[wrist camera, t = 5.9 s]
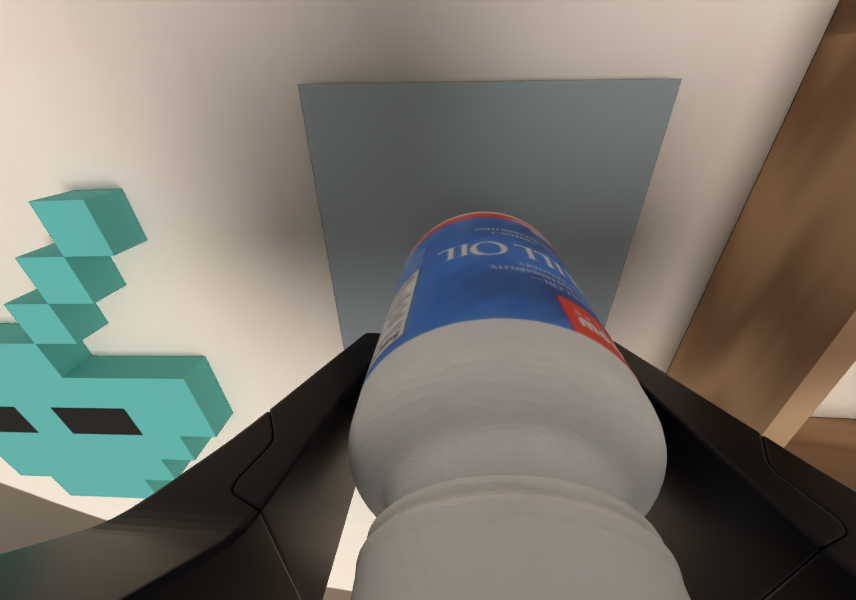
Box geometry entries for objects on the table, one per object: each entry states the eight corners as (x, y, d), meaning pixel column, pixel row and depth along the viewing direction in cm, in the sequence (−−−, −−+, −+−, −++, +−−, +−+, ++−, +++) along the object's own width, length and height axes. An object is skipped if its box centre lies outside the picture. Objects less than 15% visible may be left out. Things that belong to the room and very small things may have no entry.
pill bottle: (591, 240, 11) (1041, 712, 3) (514, 361, 14) (610, 783, 5) (429, 180, 10) (319, 542, 2) (383, 318, 13) (253, 720, 5)
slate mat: (585, 365, 17) (589, 373, 17) (349, 356, 18) (346, 364, 17) (671, 79, 11) (681, 78, 10) (304, 84, 12) (298, 84, 11)
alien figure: (-261, 202, 16) (19, 463, 26) (-357, 216, 14) (-15, 491, 24) (131, 186, 14) (268, 471, 25) (83, 199, 13) (253, 502, 23)
